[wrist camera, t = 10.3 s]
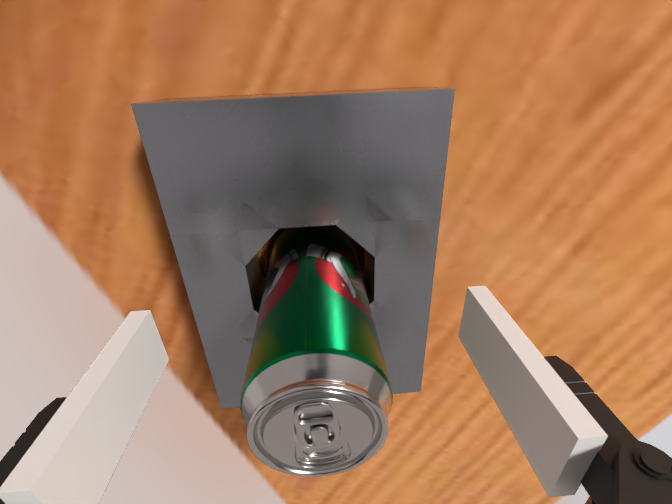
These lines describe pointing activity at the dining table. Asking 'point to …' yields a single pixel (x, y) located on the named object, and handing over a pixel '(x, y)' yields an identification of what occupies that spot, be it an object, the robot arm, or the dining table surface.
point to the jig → (302, 205)
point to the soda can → (315, 360)
